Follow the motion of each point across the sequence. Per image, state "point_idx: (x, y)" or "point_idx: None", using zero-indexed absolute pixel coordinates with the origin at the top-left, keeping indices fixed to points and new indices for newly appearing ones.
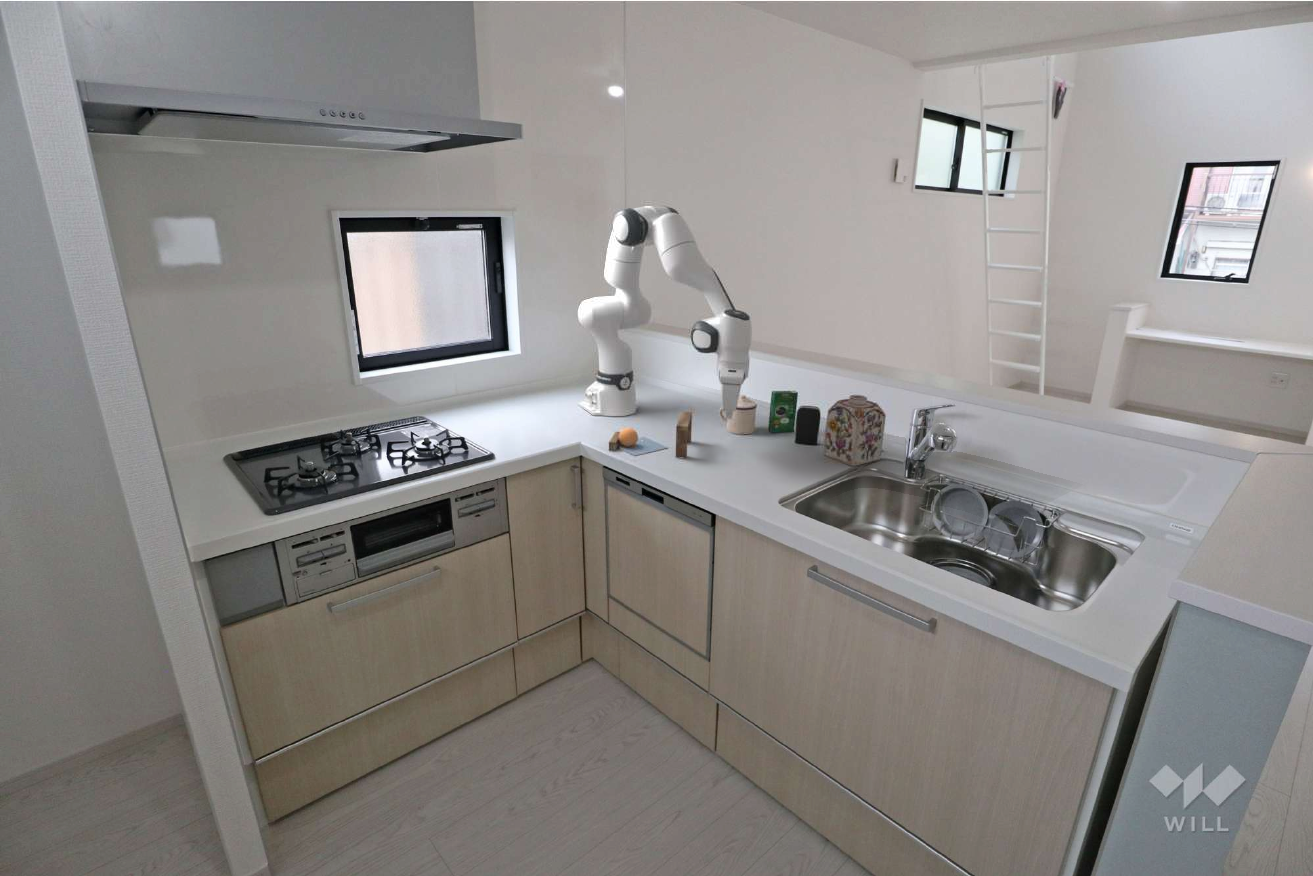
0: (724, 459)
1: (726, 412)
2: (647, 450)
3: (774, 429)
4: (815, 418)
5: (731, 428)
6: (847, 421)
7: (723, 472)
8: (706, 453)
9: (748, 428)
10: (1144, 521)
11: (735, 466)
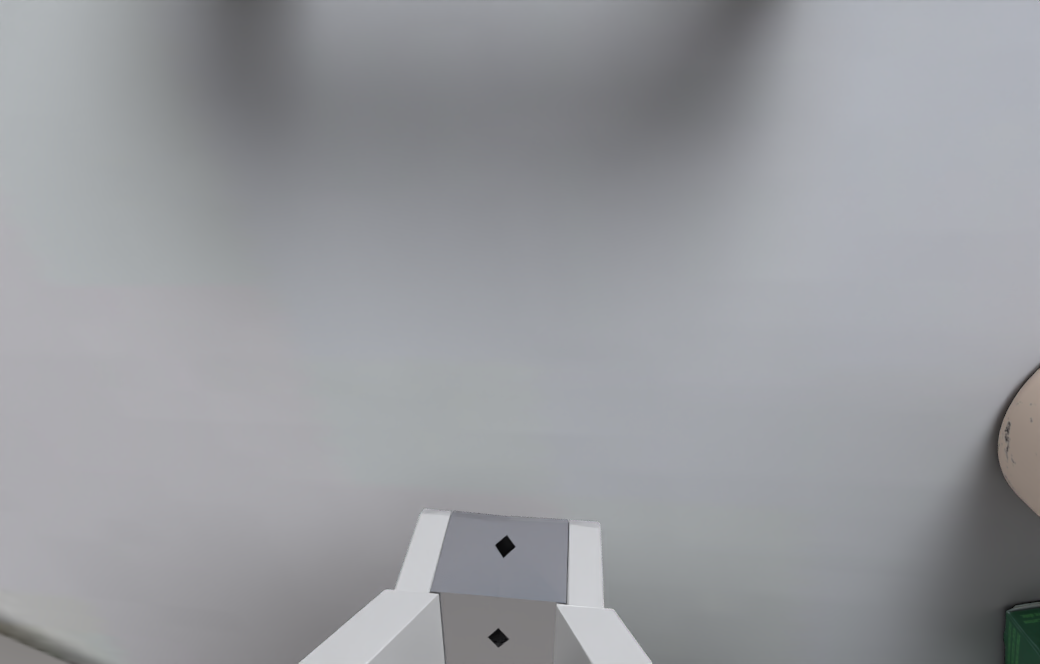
0: (333, 280)
1: (378, 597)
2: None
3: (1020, 650)
4: None
5: None
6: None
7: (52, 275)
8: (444, 113)
9: (1036, 507)
10: None
11: (213, 358)
